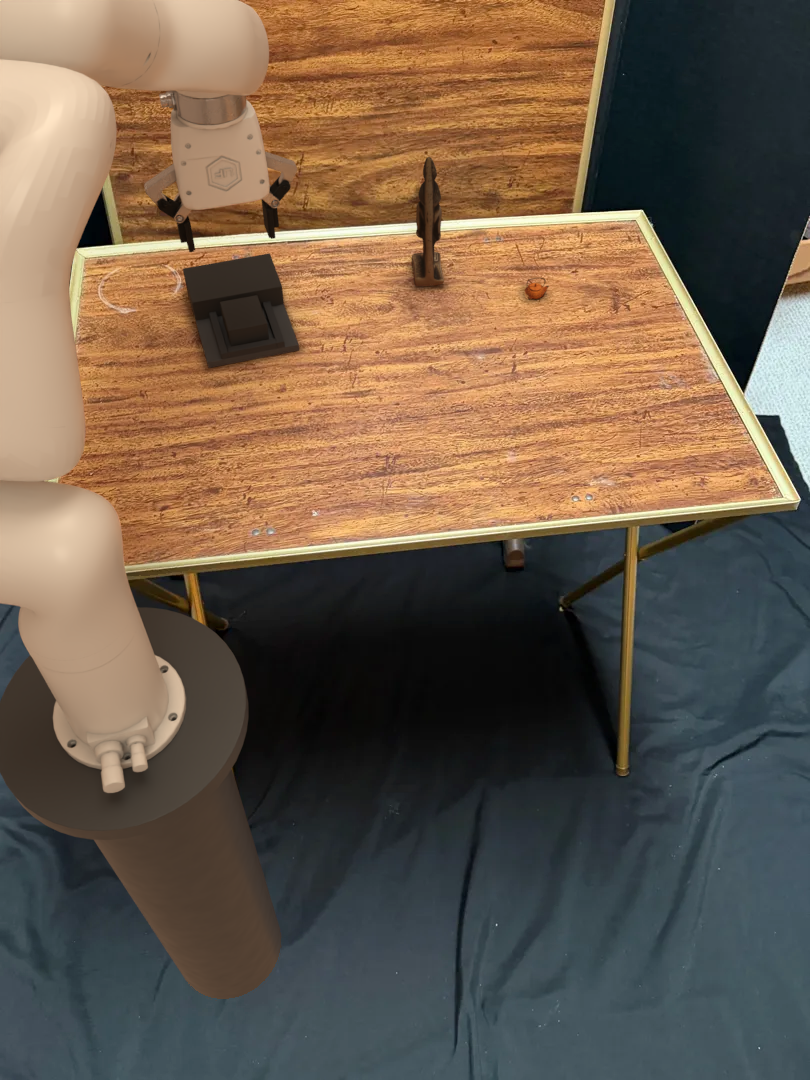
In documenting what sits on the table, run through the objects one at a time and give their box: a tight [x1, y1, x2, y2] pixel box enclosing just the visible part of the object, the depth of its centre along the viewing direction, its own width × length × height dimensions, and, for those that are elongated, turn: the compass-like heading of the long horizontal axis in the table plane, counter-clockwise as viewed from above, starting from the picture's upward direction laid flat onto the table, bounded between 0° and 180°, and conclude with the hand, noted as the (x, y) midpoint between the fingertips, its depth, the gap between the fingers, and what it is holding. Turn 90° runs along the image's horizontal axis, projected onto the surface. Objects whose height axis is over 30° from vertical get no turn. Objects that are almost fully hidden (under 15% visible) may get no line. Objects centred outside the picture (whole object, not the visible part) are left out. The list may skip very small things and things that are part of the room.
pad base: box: [182, 253, 300, 369], centre depth 129 cm, size 16×12×4 cm
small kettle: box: [523, 277, 550, 301], centre depth 134 cm, size 3×3×3 cm
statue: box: [411, 156, 445, 287], centre depth 129 cm, size 4×7×20 cm, turn 4°
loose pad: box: [220, 295, 269, 347], centre depth 127 cm, size 6×5×3 cm
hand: (230, 238), depth 116 cm, fingers open, 9 cm apart
